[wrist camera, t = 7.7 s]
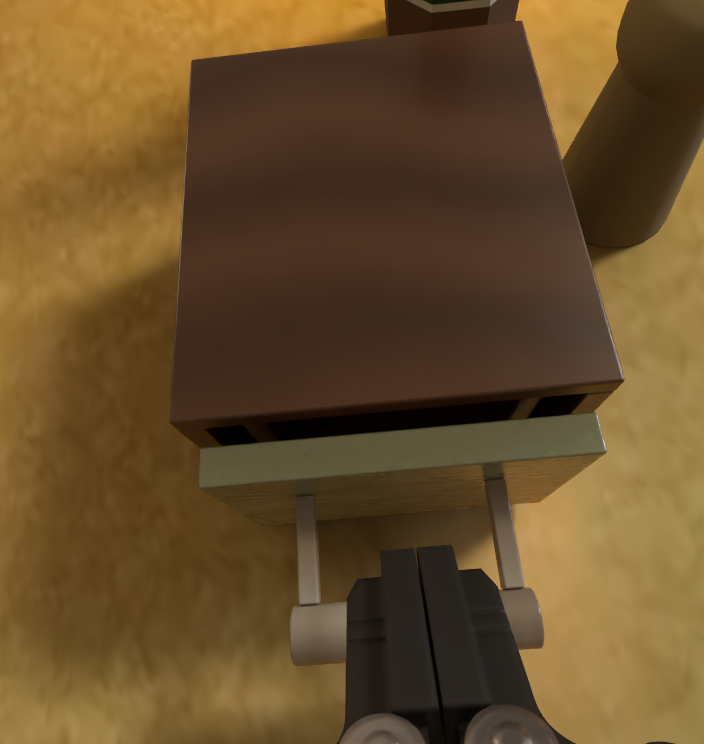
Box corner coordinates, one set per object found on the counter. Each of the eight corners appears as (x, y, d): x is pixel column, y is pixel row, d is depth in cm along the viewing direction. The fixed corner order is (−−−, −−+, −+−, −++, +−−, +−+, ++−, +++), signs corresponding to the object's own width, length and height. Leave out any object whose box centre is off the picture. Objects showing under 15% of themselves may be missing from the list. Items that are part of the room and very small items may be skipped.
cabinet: (541, 464, 24) (626, 380, 15) (251, 490, 24) (168, 423, 16) (485, 194, 30) (522, 19, 21) (250, 219, 30) (190, 59, 21)
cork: (668, 160, 30) (810, -73, 19) (669, 254, 27) (829, 48, 17) (551, 148, 30) (628, -80, 20) (542, 239, 28) (624, 34, 18)
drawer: (567, 633, 20) (658, 648, 13) (261, 656, 21) (190, 682, 14) (485, 228, 28) (515, 95, 20) (258, 251, 28) (210, 130, 21)
